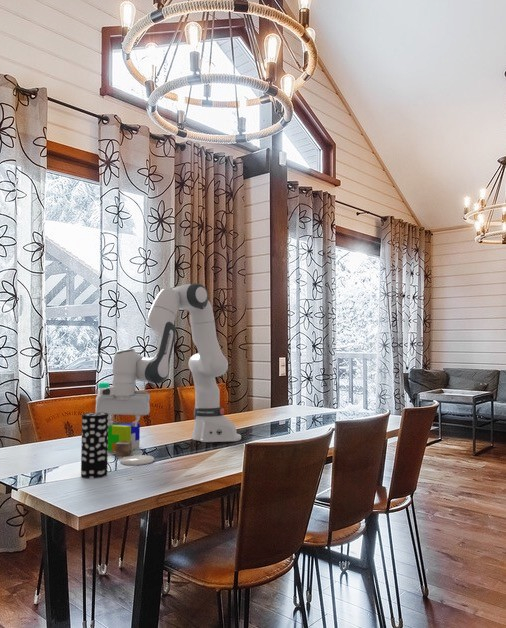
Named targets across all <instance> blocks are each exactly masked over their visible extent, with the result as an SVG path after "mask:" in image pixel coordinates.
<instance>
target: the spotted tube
mask: <svg viewBox="0 0 506 628" xmlns="http://www.w3.org/2000/svg"><path fill="white" fill-rule="evenodd" d="M80 453H81V454H80V457H81V458H80V459H81V462H80V467H81V468H80V477H81V478H83V479H90V480H92V479H93V480H94V479H100V478H104V477H106V476H108V466H109V465H108V457H109V456H108V455H109V454H108V453H109V451H108V413H96V412H85V413H82V414H81V452H80Z"/></svg>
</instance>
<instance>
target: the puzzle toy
mask: <svg viewBox="0 0 506 628" xmlns="http://www.w3.org/2000/svg"><path fill="white" fill-rule="evenodd" d="M140 424H141V423H139V422H137V427H132V425H133V424H132V422H125V421H119V422H113V426H108V452H115V444H116V443H117V442H119V441H132V451H133V450H136V449H139V448H140V437H141V436H140V435H141V434H140V429H141V428H140V426H141V425H140Z"/></svg>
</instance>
